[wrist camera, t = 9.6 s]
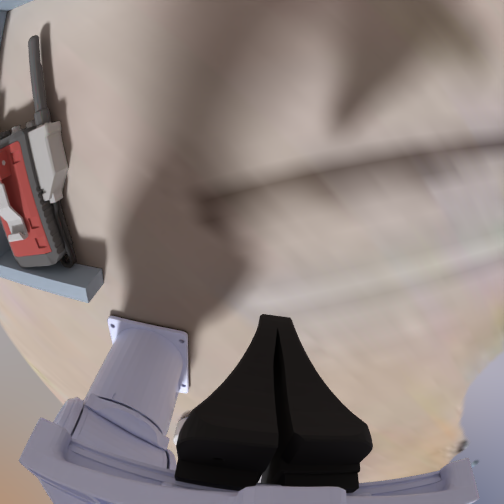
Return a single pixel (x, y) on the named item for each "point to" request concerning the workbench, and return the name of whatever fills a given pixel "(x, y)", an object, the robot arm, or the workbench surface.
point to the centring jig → (57, 276)
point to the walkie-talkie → (35, 182)
